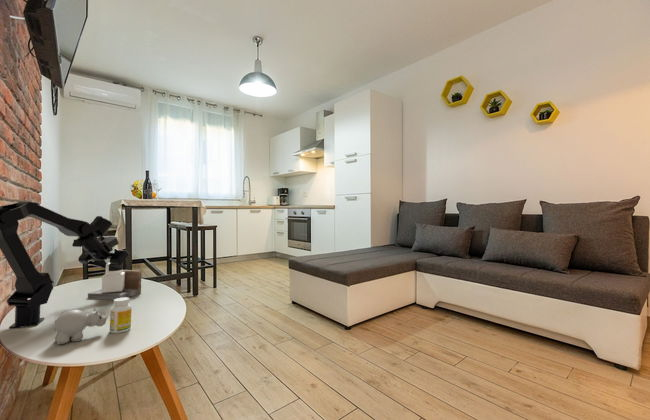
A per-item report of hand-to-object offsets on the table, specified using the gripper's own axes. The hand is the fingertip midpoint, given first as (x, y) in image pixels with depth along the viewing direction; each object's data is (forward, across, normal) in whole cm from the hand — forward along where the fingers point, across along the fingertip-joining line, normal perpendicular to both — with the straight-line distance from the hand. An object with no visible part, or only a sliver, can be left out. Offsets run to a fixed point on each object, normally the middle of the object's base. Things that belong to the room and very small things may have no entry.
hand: (115, 268), depth 127 cm
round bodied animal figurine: (-19, -26, +36) cm, 49 cm away
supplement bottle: (-14, -32, +32) cm, 47 cm away
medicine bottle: (+6, 0, +7) cm, 9 cm away
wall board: (+8, 0, +8) cm, 12 cm away
